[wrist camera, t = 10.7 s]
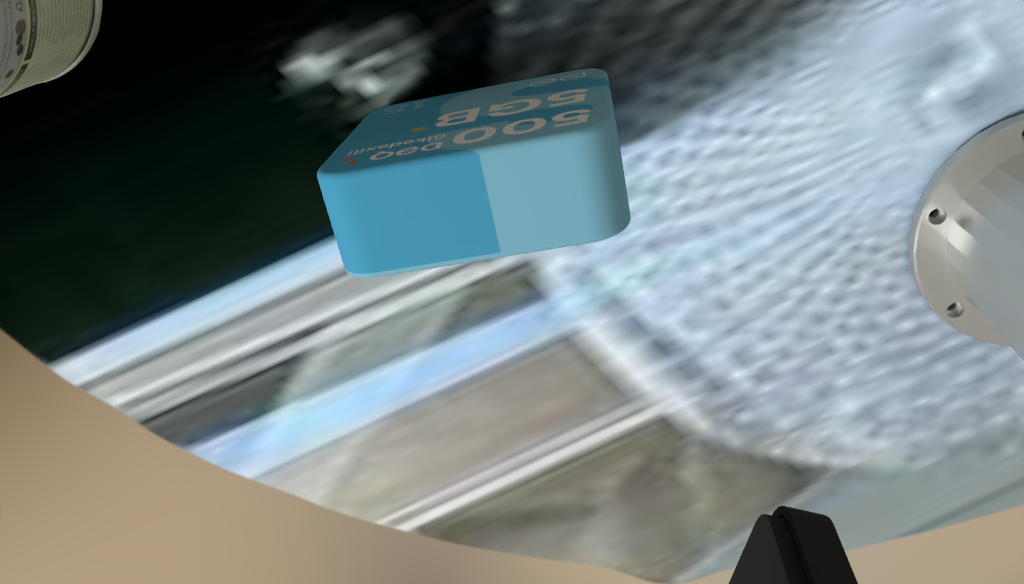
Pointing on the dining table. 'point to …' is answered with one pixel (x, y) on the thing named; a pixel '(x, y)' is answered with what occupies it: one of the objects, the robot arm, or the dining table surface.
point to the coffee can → (44, 39)
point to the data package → (478, 176)
